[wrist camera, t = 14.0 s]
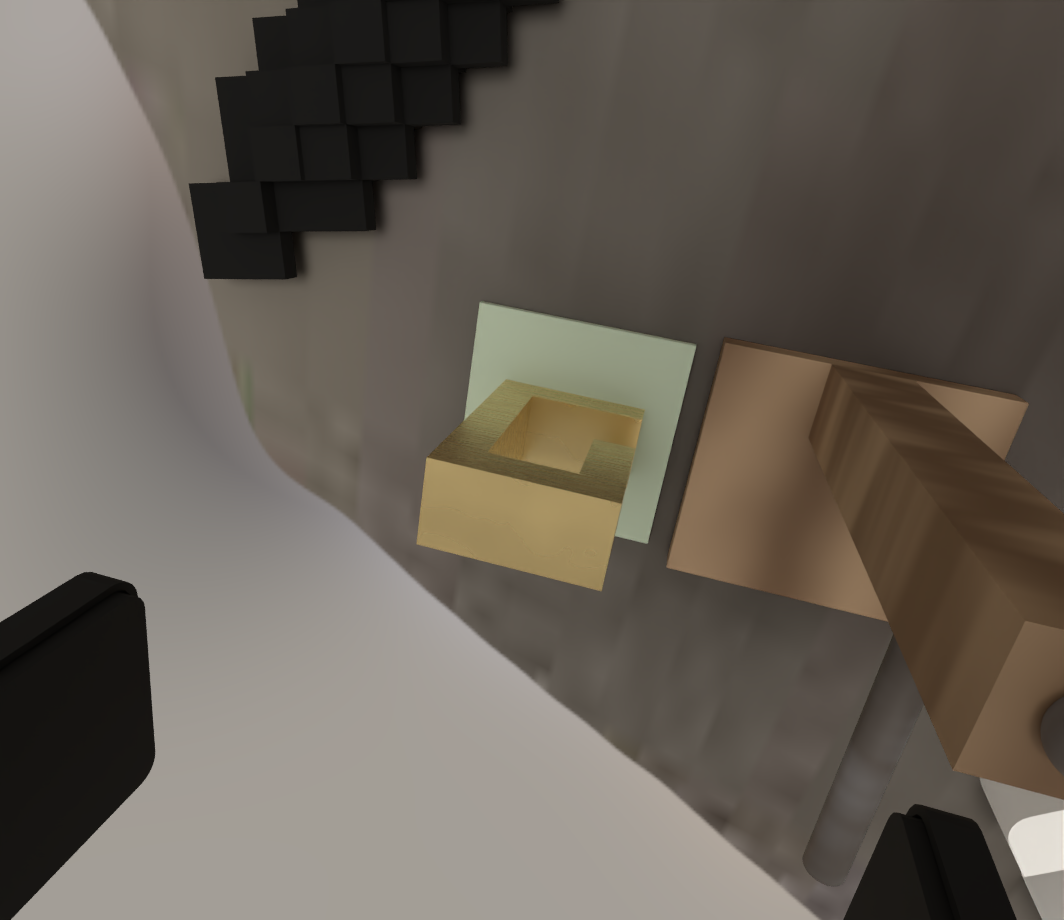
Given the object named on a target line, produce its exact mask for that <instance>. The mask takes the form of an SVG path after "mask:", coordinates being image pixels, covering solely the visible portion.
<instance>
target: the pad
mask: <svg viewBox="0 0 1064 920" xmlns="http://www.w3.org/2000/svg"><path fill="white" fill-rule="evenodd" d="M695 349H696V344H693V343H688V342H683V341H678V340H673V339H668V338H663V337H658V336H653V335H648V334H643V333H638V332H633V331H629V330H624V329H619V328H614V327H609V326H604V325H599V324H594V323H589V322H584V321H579V320H574V319H569V318H564V317H559V316H554V315H549V314H544V313H539V312H534V311H529V310H524V309H519V308H514V307H509V306H504V305H499V304H494V303H489V302H484V301H482V302H480V305H479V313H478V320H477V328H476V335H475V343H474V350H473V358H472V366H471V373H470V381H469V388H468V396H467V403H466V411H465V419H466V418H467V417H468V416H469V415H470V414H471V413H472V412H473V411H474V410H475V409H476V408H477V407H478V406H479V405H480V404H481V403H482V402H483V401H484V400H485V399H487V398H488V397H489V396H490V395H491V394H492V393H493V392H494V391H495V390H496V389H497V388H498V387H499V386H500V385H501V384H502V383H503V382H504V381H505V380H506V379H508V380H512V381H517V382H521V383H526V384H530V385H535V386H540V387H544V388H549V389H553V390H558V391H562V392H567V393H572V394H576V395H581V396H585V397H590V398H594V399H599V400H604V401H608V402H613V403H617V404H622V405H626V406H631V407H635V408H640V409H645V411H644V416H643V420H642V424H641V429H640V433H639V437H638V442H637V446H636V450H635V455H634V459H633V463H632V467H631V472H630V476H629V480H628V484H627V488H626V491H625V495H624V499H623V504H622V508H621V512H620V517H619V521H618V525H617V529H616V533H615V536H617V537H621V538H625V539H629V540H634V541H638V542H642V543H646V544H648V540H649V536H650V532H651V528H652V524H653V520H654V515H655V511H656V507H657V503H658V499H659V495H660V491H661V487H662V483H663V479H664V475H665V471H666V467H667V463H668V459H669V455H670V451H671V447H672V443H673V438H674V434H675V430H676V426H677V422H678V418H679V414H680V410H681V406H682V402H683V398H684V394H685V390H686V386H687V382H688V378H689V374H690V370H691V366H692V361H693V357H694V353H695ZM465 419H464V420H465Z"/></svg>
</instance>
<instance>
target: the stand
mask: <svg viewBox="0 0 1064 920" xmlns="http://www.w3.org/2000/svg"><path fill="white" fill-rule="evenodd" d="M1028 404H1029V403H1028V402H1026V401H1024V400H1023V399H1021V398H1020V397H1018V396H1017V395H1014V394H1009V393H1004V392H999V391H994V390H989V389H984V388H979V387H973V386H968V385H963V384H958V383H953V382H948V381H943V380H938V379H933V378H928V377H923V376H918V375H913V374H908V373H903V372H898V371H893V370H888V369H883V368H878V367H873V366H868V365H863V364H858V363H853V362H848V361H843V360H838V359H833V358H828V357H823V356H818V355H813V354H808V353H803V352H797V351H792V350H787V349H782V348H777V347H772V346H767V345H762V344H757V343H752V342H747V341H742V340H737V339H732V338H727V337H724V340H723V344H722V348H721V352H720V356H719V360H718V363H717V367H716V371H715V375H714V379H713V383H712V386H711V390H710V394H709V398H708V402H707V406H706V410H705V413H704V417H703V421H702V425H701V429H700V433H699V436H698V440H697V444H696V448H695V452H694V456H693V460H692V463H691V467H690V471H689V475H688V479H687V483H686V486H685V490H684V494H683V498H682V502H681V506H680V510H679V513H678V517H677V521H676V525H675V529H674V533H673V536H672V540H671V544H670V548H669V552H668V557H667V568H671V569H675V570H679V571H683V572H687V573H691V574H695V575H699V576H703V577H707V578H712V579H716V580H720V581H724V582H728V583H732V584H736V585H740V586H744V587H748V588H752V589H757V590H761V591H765V592H769V593H773V594H777V595H781V596H785V597H789V598H793V599H798V600H802V601H806V602H810V603H814V604H818V605H822V606H826V607H830V608H834V609H838V610H843V611H847V612H851V613H855V614H859V615H863V616H867V617H871V618H875V619H879V620H884V621H888V622H889V625H890V627H891V629H892V631H893V634H894V635H893V637H892V639H891V642H890V644H889V647H888V649H887V652H886V654H885V657H884V659H883V661H882V664H881V666H880V669H879V671H878V674H877V676H876V679H875V681H874V683H873V686H872V688H871V691H870V693H869V696H868V698H867V701H866V703H865V705H864V708H863V710H862V713H861V715H860V718H859V720H858V723H857V725H856V727H855V730H854V732H853V735H852V737H851V740H850V742H849V745H848V747H847V749H846V752H845V754H844V757H843V759H842V762H841V764H840V767H839V769H838V771H837V774H836V776H835V779H834V781H833V784H832V786H831V789H830V791H829V793H828V796H827V798H826V801H825V803H824V806H823V808H822V811H821V813H820V815H819V818H818V820H817V823H816V825H815V828H814V830H813V833H812V835H811V837H810V840H809V842H808V845H807V847H806V850H805V852H804V855H803V864H804V867H805V869H806V870H807V872H808V873H809V874H810V875H811V876H812V877H813V878H814V879H816V880H817V881H819V882H820V883H822V884H825V885H827V886H840V885H842V884H843V883H844V882H845V879H846V877H847V875H848V873H849V870H850V868H851V866H852V864H853V861H854V859H855V857H856V855H857V852H858V850H859V848H860V846H861V843H862V841H863V839H864V837H865V835H866V832H867V830H868V828H869V826H870V823H871V821H872V819H873V817H874V814H875V812H876V810H877V808H878V805H879V803H880V801H881V799H882V796H883V794H884V792H885V790H886V787H887V785H888V783H889V781H890V778H891V776H892V774H893V772H894V770H895V767H896V765H897V763H898V761H899V758H900V756H901V754H902V752H903V749H904V747H905V745H906V743H907V740H908V738H909V736H910V734H911V731H912V729H913V727H914V725H915V722H916V720H917V718H918V716H919V713H920V711H921V709H922V707H923V705H925V707H926V710H927V712H928V714H929V717H930V719H931V721H932V723H933V726H934V728H935V730H936V733H937V735H938V737H939V739H940V742H941V744H942V746H943V749H944V751H945V753H946V756H947V758H948V760H949V762H950V765H951V767H952V769H953V770H954V771H958V772H961V773H965V774H969V775H973V776H976V777H980V778H984V779H988V780H991V781H995V782H999V783H1002V784H1006V785H1010V786H1014V787H1017V788H1021V789H1025V790H1029V791H1032V792H1036V793H1040V794H1044V795H1047V796H1051V797H1055V798H1058V799H1062V800H1064V514H1063V513H1062V512H1061V511H1060V510H1059V509H1058V508H1057V507H1056V506H1054V505H1053V504H1052V503H1051V502H1050V501H1049V500H1048V499H1047V498H1046V497H1044V496H1043V495H1042V494H1041V493H1040V492H1039V491H1038V490H1037V489H1035V488H1034V487H1033V486H1032V485H1031V484H1030V483H1029V482H1028V481H1027V480H1025V479H1024V478H1023V477H1022V476H1021V475H1020V474H1019V473H1018V472H1016V471H1015V470H1014V469H1013V468H1012V467H1011V466H1010V465H1009V464H1007V463H1006V462H1005V461H1004V460H1005V458H1006V456H1007V453H1008V451H1009V449H1010V446H1011V444H1012V442H1013V439H1014V437H1015V435H1016V432H1017V430H1018V428H1019V425H1020V423H1021V421H1022V418H1023V416H1024V414H1025V411H1026V409H1027V407H1028Z"/></svg>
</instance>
